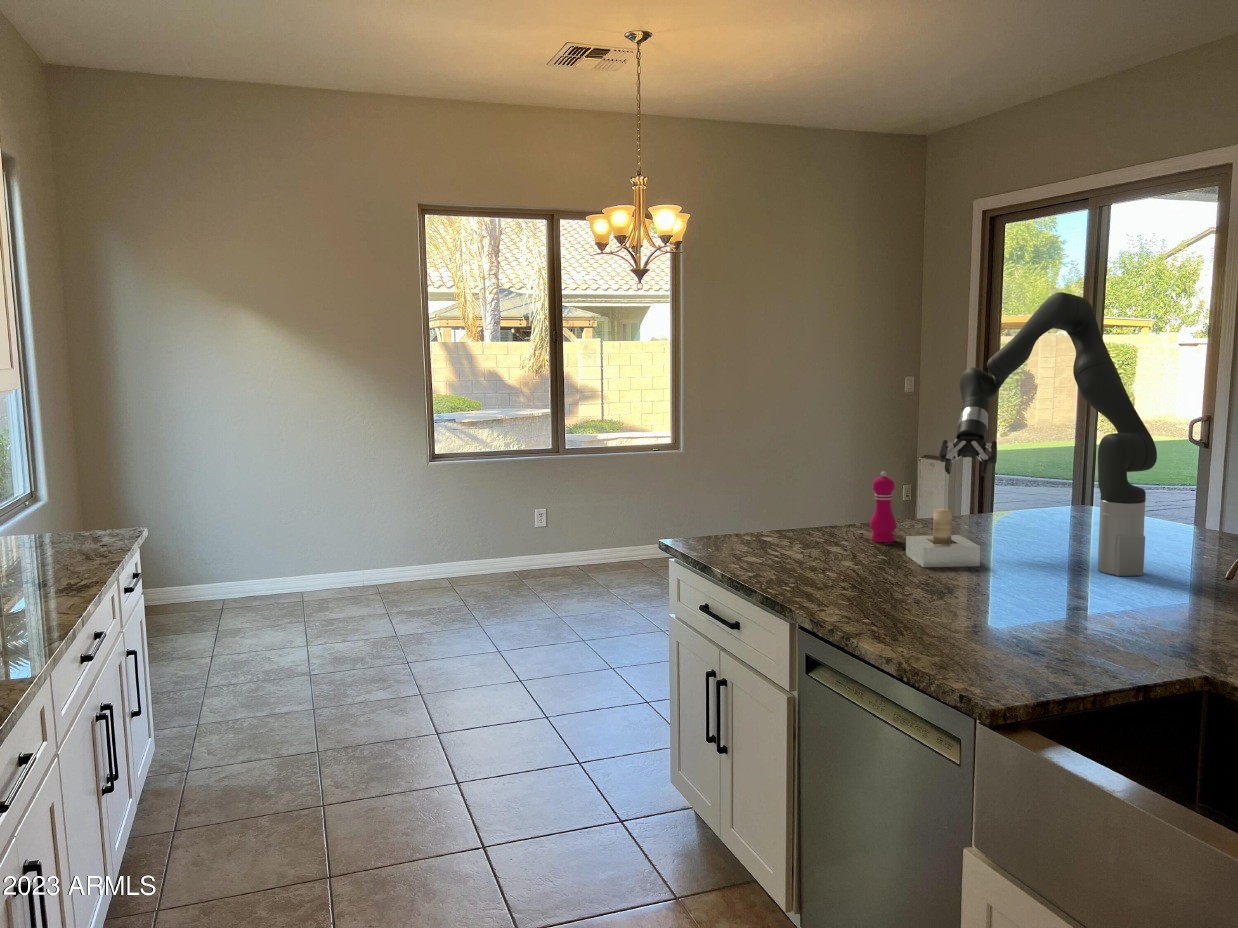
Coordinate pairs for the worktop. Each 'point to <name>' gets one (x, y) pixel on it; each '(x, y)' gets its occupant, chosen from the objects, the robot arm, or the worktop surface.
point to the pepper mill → (883, 510)
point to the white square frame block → (943, 552)
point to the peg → (942, 526)
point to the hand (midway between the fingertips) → (965, 473)
